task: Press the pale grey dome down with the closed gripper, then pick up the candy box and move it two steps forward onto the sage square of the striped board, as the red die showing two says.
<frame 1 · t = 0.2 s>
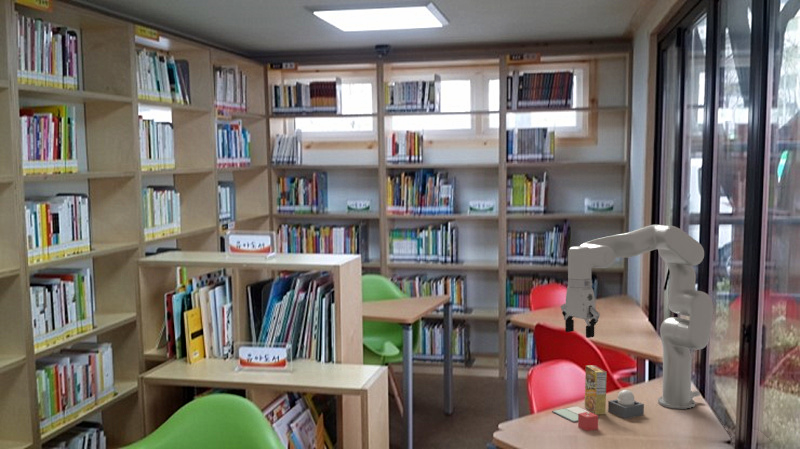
hand: (579, 334, 235), 31 cm above the table, tool pointing down, fingers open, 9 cm apart
candy box: (595, 411, 251), on the table
dome: (625, 397, 247), point 5 cm above the table, slide at 0.0 cm
red die: (588, 427, 234), on the table
striped board: (575, 414, 247), on the table
dome housing: (625, 413, 247), on the table
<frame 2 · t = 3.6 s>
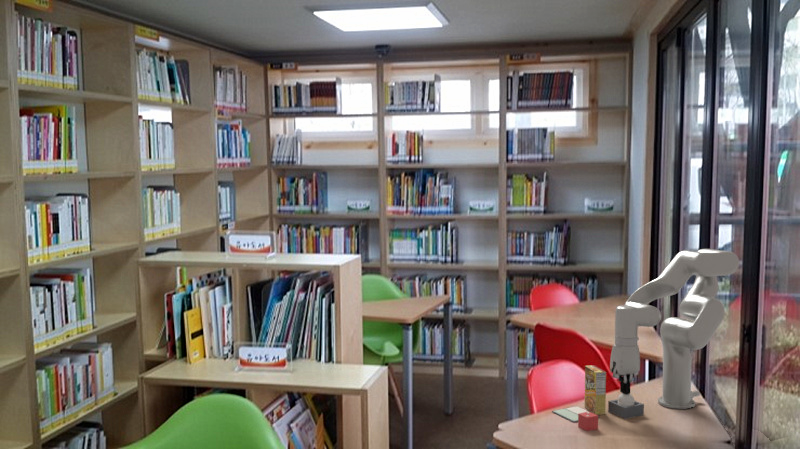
hand: (625, 392, 247), 7 cm above the table, tool pointing down, fingers closed
dome: (625, 400, 247), point 4 cm above the table, slide at 1.0 cm, touching gripper
everything else where it was.
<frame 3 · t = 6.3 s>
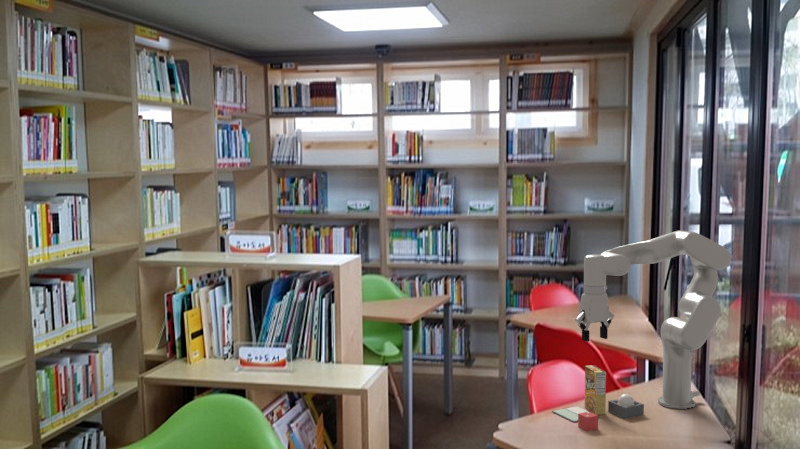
hand: (594, 339, 249), 26 cm above the table, tool pointing down, fingers open, 7 cm apart
dome: (625, 402, 247), point 4 cm above the table, slide at 1.5 cm
everything else where it was.
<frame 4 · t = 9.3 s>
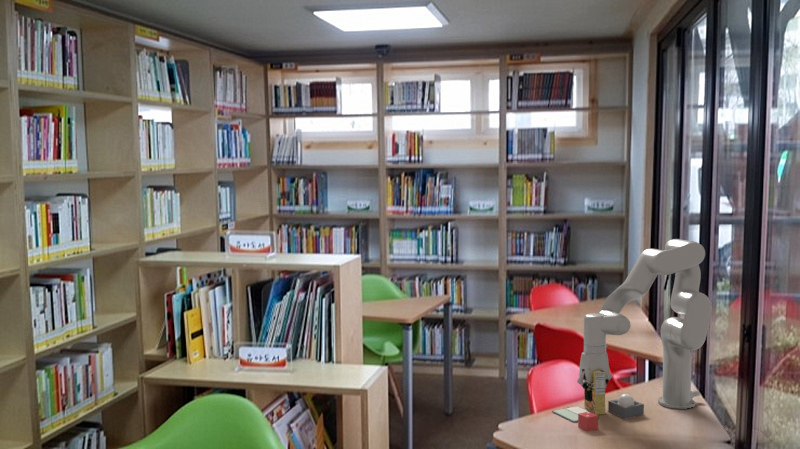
hand: (594, 398, 250), 4 cm above the table, tool pointing down, fingers closed on candy box, 5 cm apart
candy box: (595, 411, 251), on the table, touching gripper
everything else where it was.
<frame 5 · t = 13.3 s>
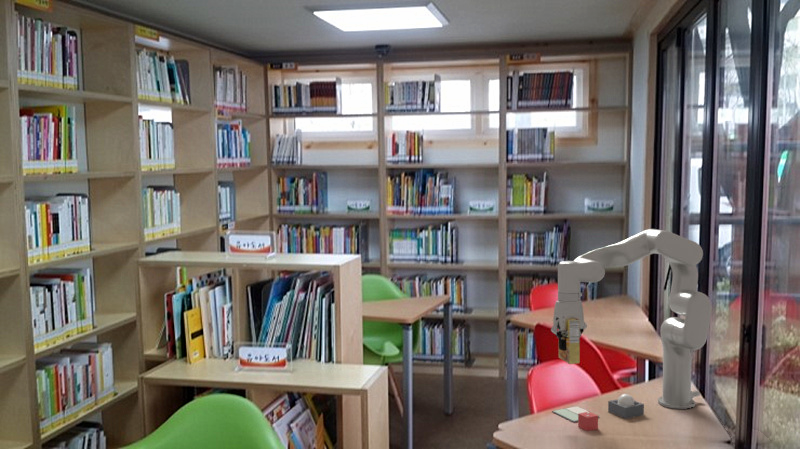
hand: (569, 348, 244), 24 cm above the table, tool pointing down, fingers closed on candy box, 5 cm apart
candy box: (569, 361, 244), point 19 cm above the table, touching gripper
everything else where it was.
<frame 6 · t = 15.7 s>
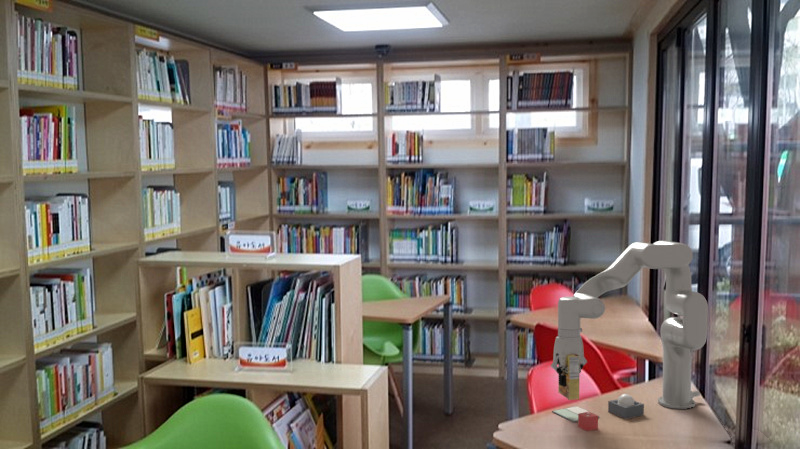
hand: (569, 384, 245), 11 cm above the table, tool pointing down, fingers closed on candy box, 5 cm apart
candy box: (569, 396, 245), point 7 cm above the table, touching gripper
everything else where it was.
when the fingers open (6 cm above the table, at t = 17.6 s): candy box stays where it is, resting on striped board.
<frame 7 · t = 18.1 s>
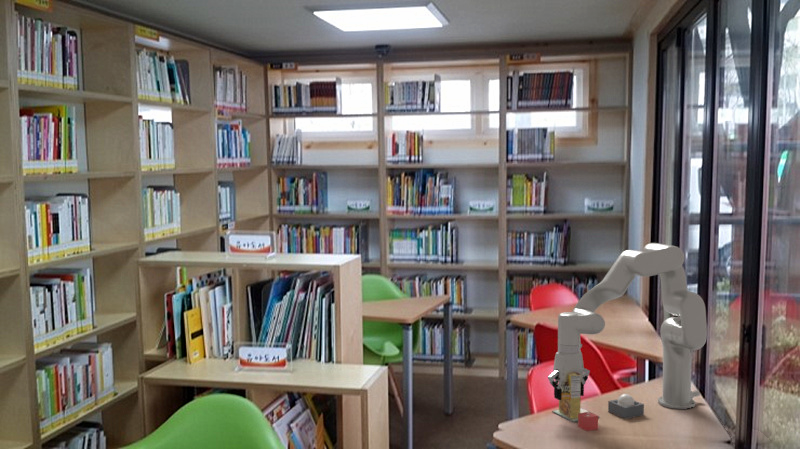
hand: (569, 397, 245), 7 cm above the table, tool pointing down, fingers open, 9 cm apart
candy box: (569, 414, 246), resting on striped board
everything else where it was.
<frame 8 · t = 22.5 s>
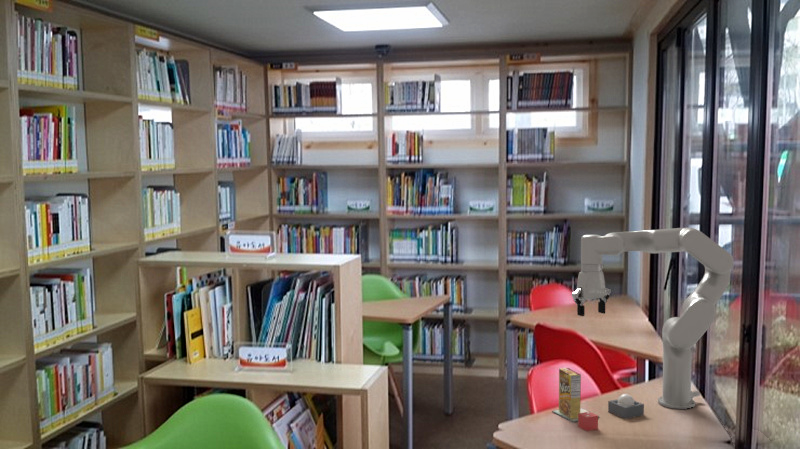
hand: (591, 314, 260), 32 cm above the table, tool pointing down, fingers open, 9 cm apart
nothing on the table moved.
at the end: dome slide at 1.5 cm; candy box 0.6 cm from the target spot on the striped board, point 0.3 cm above the striped board's base; candy box tilted 0° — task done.
